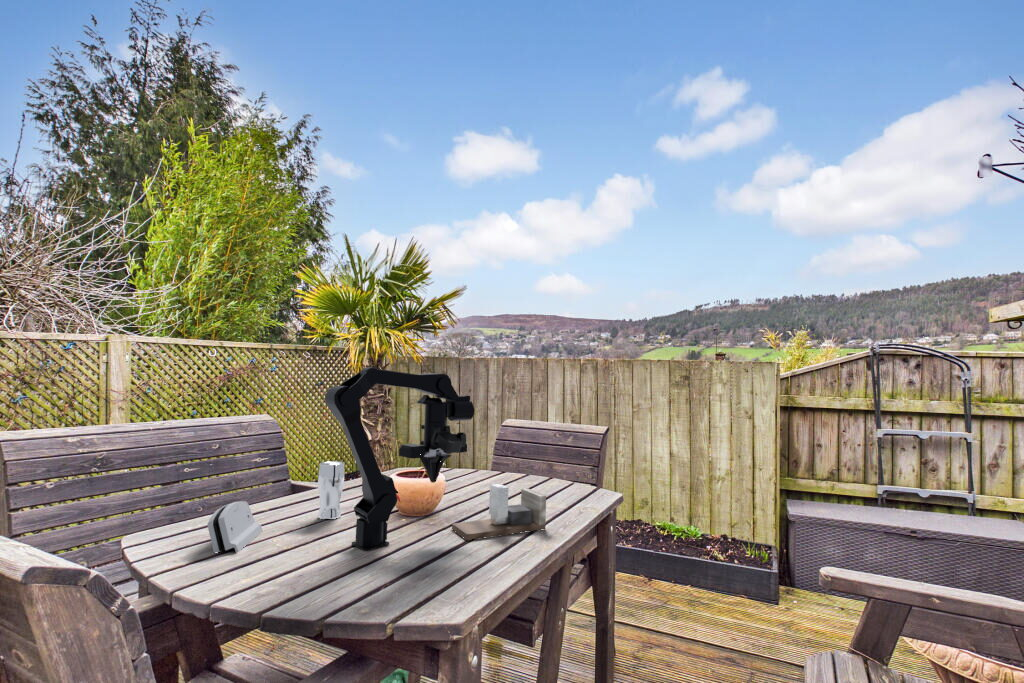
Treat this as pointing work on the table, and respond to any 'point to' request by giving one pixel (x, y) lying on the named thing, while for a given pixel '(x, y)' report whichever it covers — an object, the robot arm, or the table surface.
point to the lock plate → (510, 519)
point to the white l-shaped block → (498, 504)
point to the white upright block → (330, 489)
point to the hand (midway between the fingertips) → (433, 482)
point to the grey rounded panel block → (233, 527)
